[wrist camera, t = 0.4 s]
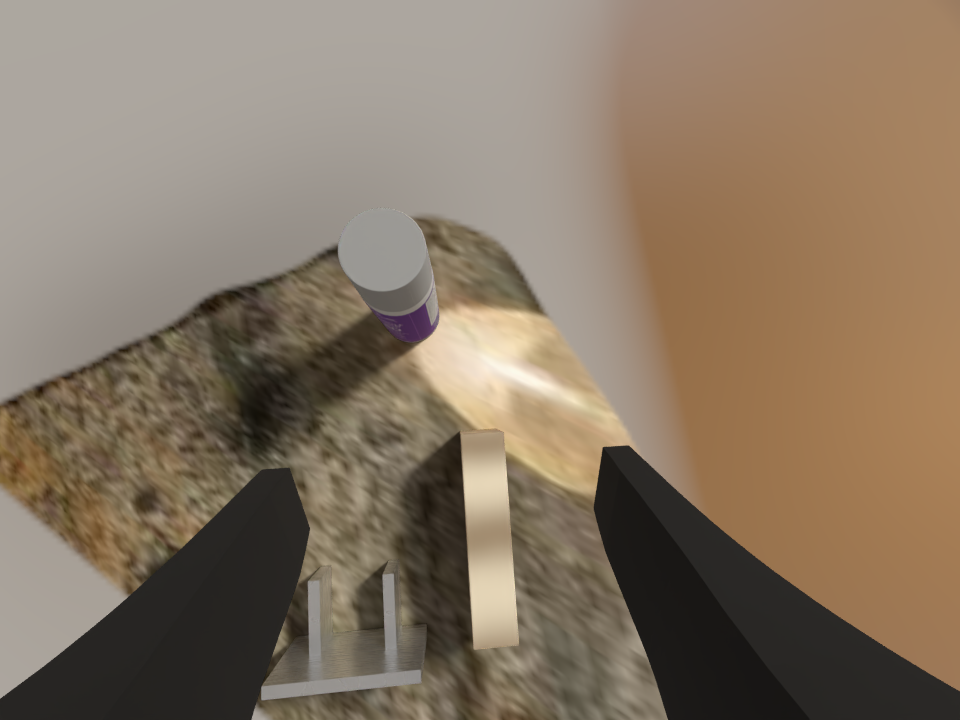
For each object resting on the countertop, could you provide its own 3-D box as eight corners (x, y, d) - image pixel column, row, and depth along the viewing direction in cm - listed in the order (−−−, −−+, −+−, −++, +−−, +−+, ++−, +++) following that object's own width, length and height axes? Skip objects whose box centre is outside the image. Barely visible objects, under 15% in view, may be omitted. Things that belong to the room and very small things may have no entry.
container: (382, 341, 36) (330, 291, 21) (386, 287, 36) (339, 202, 22) (437, 344, 36) (425, 297, 21) (440, 291, 37) (431, 208, 22)
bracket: (427, 641, 33) (421, 691, 27) (296, 654, 32) (261, 708, 27) (423, 557, 34) (417, 588, 28) (295, 568, 33) (260, 602, 27)
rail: (507, 604, 34) (518, 645, 28) (470, 607, 34) (473, 649, 28) (495, 428, 36) (503, 432, 30) (459, 430, 35) (461, 434, 30)
